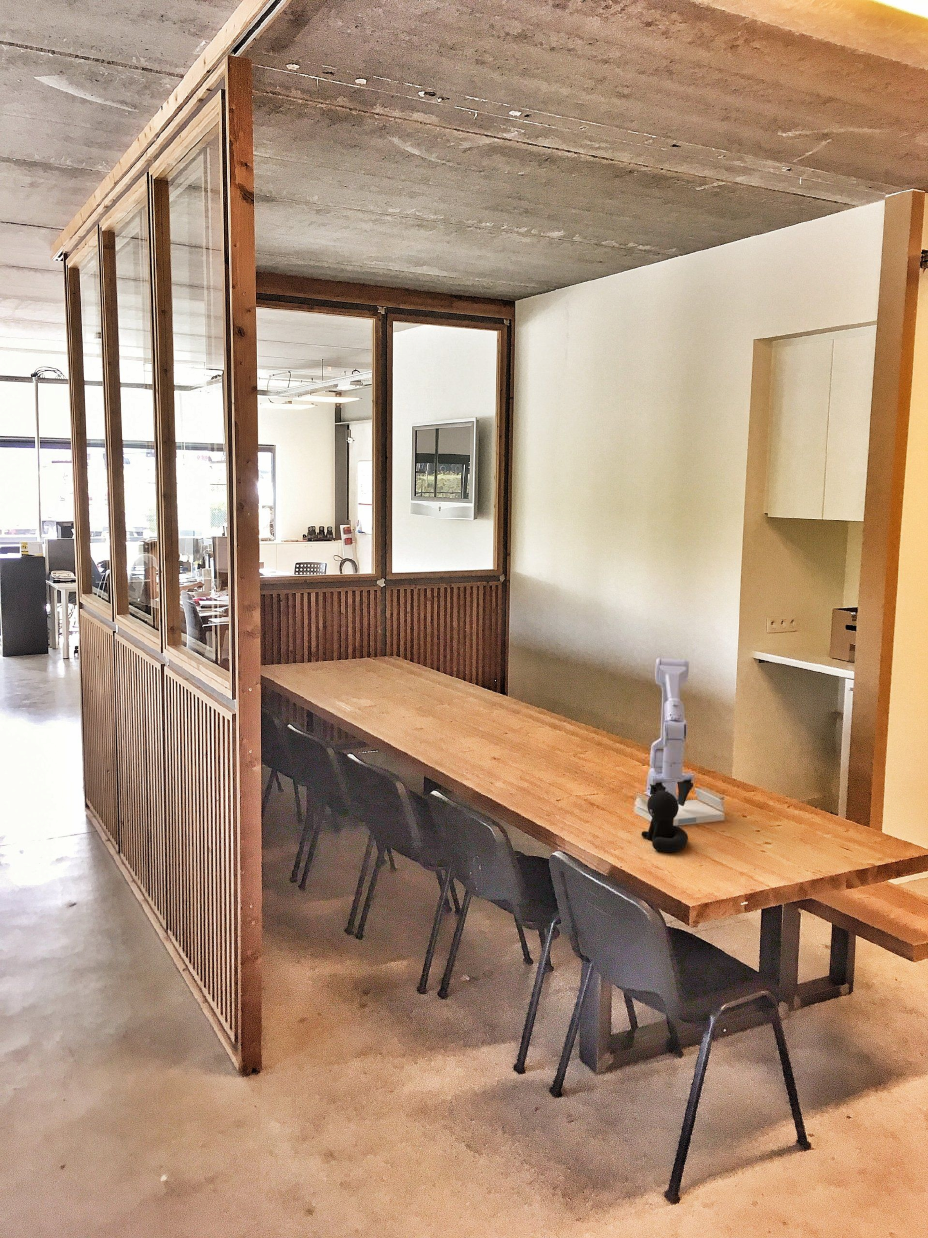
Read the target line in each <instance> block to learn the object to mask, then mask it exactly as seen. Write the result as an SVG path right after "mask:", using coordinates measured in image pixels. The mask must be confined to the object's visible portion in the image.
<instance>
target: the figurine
mask: <svg viewBox="0 0 928 1238" xmlns="http://www.w3.org/2000/svg"><path fill="white" fill-rule="evenodd" d="M650 795H651V796H649V797H648V798H649V800H648V803H647V808H648V811H649V813H650V815H651V816H652V820H651V822H650V824H649V827H648V831H646V830H643V831H641V833H640V835H641V837H642V838H646V840H648V841H650V840H651V842H652V843H651V845H652V848H653V849H654V850H656V851H660V852H664V853H665V852H667V853H676V852H678V851H680V850H682V849H683V848H685V847H686V845H687V844H688V842H689V836H688V833H687V832H686V831H685V830H684V829H683V828H682V827H679V825H678V826H674V825H673V822H674V818H675V817H676V815H677V813H678V809H679V805H678V800H677V799H676V798H675V797H674V796H673V795H672V794H671V793H669V792H668V791H658V792H655V791H654V789H653V787H652V785H651V789H650Z"/></svg>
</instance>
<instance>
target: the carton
mask: <svg viewBox="0 0 928 1238" xmlns="http://www.w3.org/2000/svg"><path fill="white" fill-rule="evenodd" d="M678 805H679V804H678ZM633 811H634V813H635V814H637V815H638V816H640V817H642V818H644V819H645V820H647V821H648V822H650V823H651V820H652V816H651V815H650V813H649V812H648V811H646V810H644V809H642V808H640V807H639V806H637V805H634V810H633ZM721 821H725V813H724V812H723V811H721V810H719V809H718V810H717V808H715V807H713V806H711V805H709V804H707V803H706V804H705V802H703V801H701V800H699V799H693V800H692V799H690V800H689V799H688V800H686V801H685V804H684V806H681V805H679V809H678V813H677V815H676V817H675V818H674V822H673V825H674V826H678V827H679V826H686V825H694V824H695V825H696V824H703V823H713V822H721Z"/></svg>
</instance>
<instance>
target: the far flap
mask: <svg viewBox="0 0 928 1238" xmlns="http://www.w3.org/2000/svg"><path fill="white" fill-rule="evenodd" d="M694 792H695V795H696V798H697V799H696V800H698V801H700V802H702V803H704V804H705V803H706V805H708V806H710V807H712V808H714V809H716V810H717V809H718V811H720V812H722V813H724V812H726V810H725V806H724V802H723V801H724V800H725V796H724V795H723V794H721V793H718V792H716V791H713V790H712V789H709V788H707V787H705V786H702V787H701V788H697V787H695V788H694Z"/></svg>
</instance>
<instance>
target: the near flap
mask: <svg viewBox="0 0 928 1238" xmlns="http://www.w3.org/2000/svg"><path fill="white" fill-rule="evenodd" d="M635 797H636V799H635V802H634V806H639V807H640V808H642V809H644V810H646V811H648V808H647V803H648V800H649V798H650V797H648V796H646V795H645V794H644V795H643V794H642V793H638V792H636V794H635ZM648 812H649V811H648Z"/></svg>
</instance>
